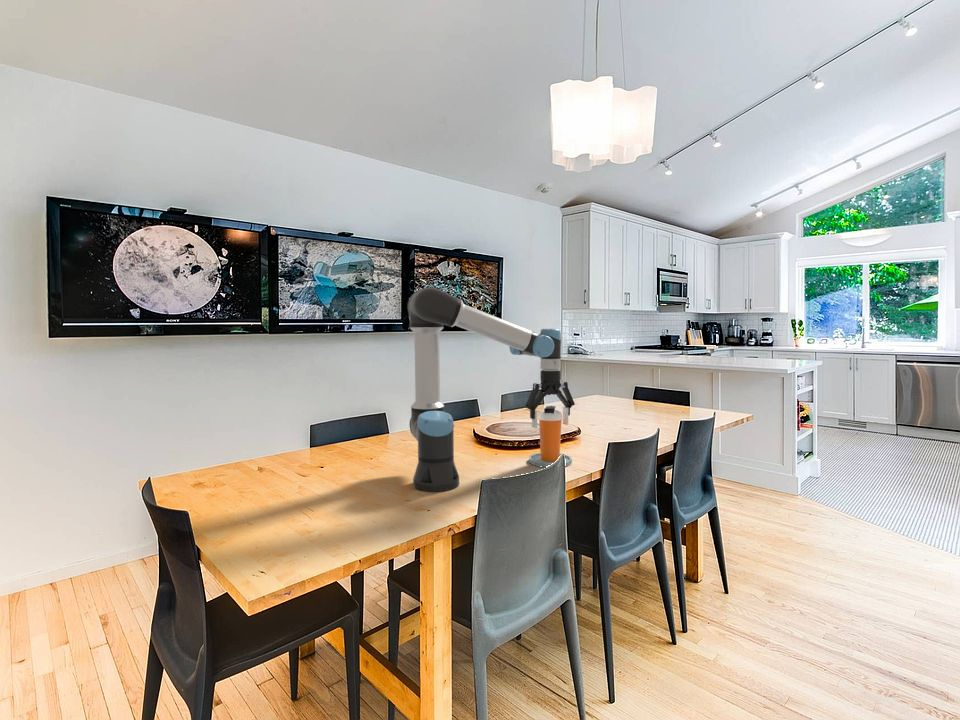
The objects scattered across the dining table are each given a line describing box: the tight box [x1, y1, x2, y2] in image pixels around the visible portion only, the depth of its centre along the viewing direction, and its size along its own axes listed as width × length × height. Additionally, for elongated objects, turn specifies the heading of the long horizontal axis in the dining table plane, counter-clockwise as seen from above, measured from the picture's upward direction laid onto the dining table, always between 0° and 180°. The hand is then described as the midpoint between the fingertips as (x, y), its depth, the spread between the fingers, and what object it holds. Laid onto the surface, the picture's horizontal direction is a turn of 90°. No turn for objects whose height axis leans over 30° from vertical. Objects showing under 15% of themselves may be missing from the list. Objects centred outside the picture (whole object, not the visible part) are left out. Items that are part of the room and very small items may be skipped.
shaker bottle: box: [537, 405, 563, 462], centre depth 193 cm, size 9×9×20 cm
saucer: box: [528, 452, 573, 468], centre depth 194 cm, size 16×16×2 cm
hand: (550, 425), depth 193 cm, fingers open, 13 cm apart
